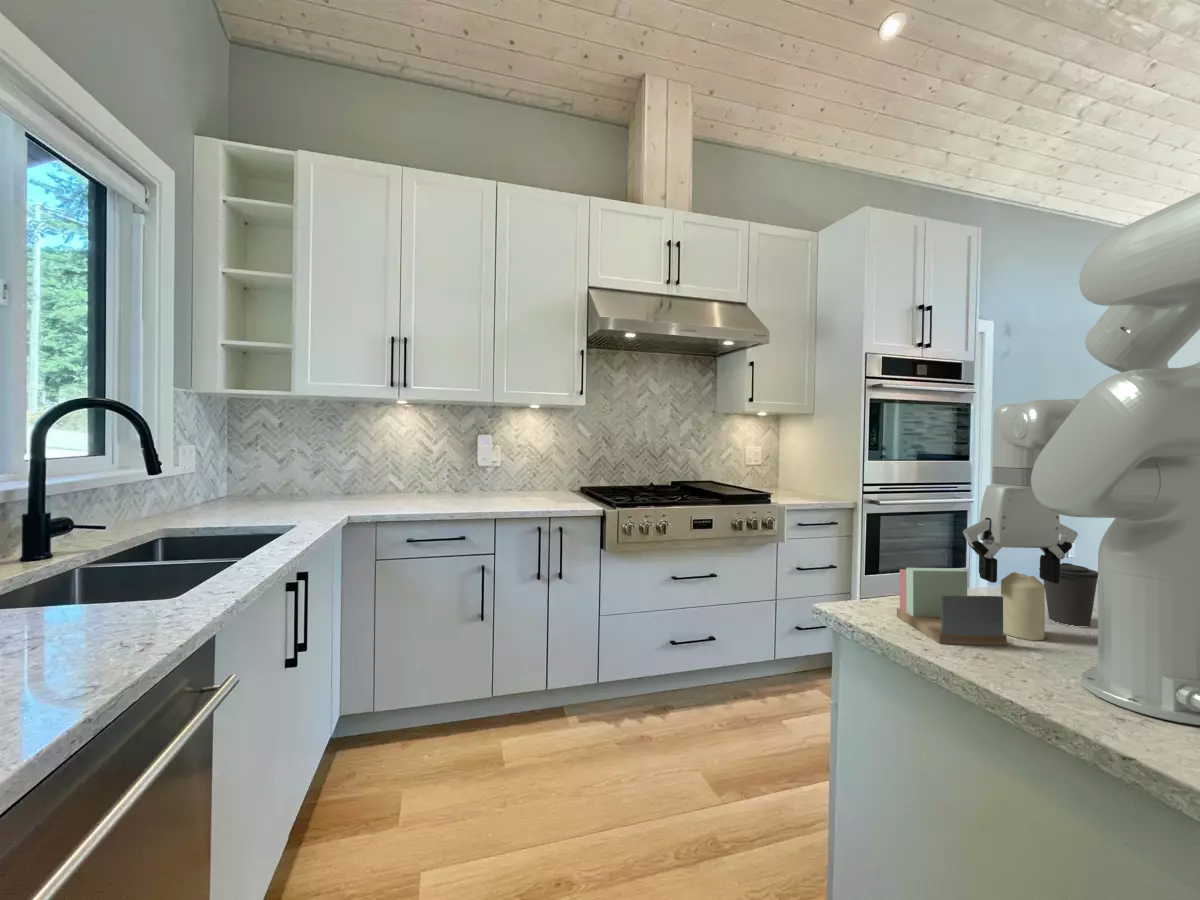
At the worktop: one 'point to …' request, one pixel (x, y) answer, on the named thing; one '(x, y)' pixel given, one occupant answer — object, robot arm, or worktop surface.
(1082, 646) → the worktop surface
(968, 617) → the bookend
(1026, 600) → the candle
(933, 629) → the brown wooden board
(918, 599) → the books
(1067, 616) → the coffee cup
